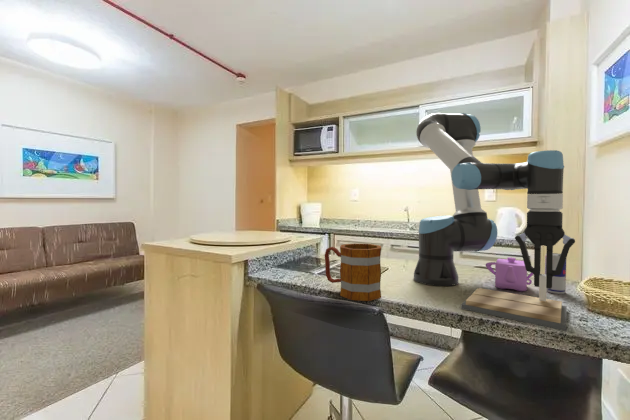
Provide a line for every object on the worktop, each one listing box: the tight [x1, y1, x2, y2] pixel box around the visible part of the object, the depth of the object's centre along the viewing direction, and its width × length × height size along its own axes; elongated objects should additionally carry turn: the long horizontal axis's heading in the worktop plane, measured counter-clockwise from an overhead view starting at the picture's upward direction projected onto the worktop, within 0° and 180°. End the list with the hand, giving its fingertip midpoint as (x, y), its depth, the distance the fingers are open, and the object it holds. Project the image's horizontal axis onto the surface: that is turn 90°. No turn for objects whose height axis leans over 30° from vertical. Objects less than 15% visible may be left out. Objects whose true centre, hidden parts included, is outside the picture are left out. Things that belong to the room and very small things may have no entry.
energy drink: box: [544, 252, 567, 295], centre depth 98 cm, size 5×5×12 cm
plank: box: [472, 287, 563, 310], centre depth 86 cm, size 20×7×1 cm, turn 51°
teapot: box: [485, 257, 534, 292], centre depth 103 cm, size 18×14×10 cm
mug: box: [324, 242, 382, 302], centre depth 98 cm, size 20×14×15 cm
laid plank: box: [465, 293, 561, 323], centre depth 80 cm, size 20×7×1 cm, turn 51°
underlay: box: [460, 292, 568, 331], centre depth 83 cm, size 22×16×1 cm
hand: (542, 299), depth 82 cm, fingers closed
